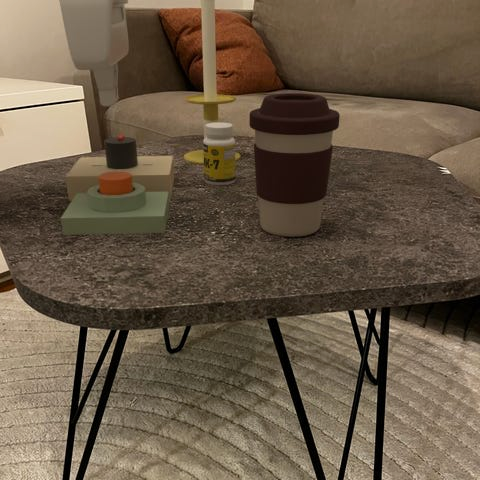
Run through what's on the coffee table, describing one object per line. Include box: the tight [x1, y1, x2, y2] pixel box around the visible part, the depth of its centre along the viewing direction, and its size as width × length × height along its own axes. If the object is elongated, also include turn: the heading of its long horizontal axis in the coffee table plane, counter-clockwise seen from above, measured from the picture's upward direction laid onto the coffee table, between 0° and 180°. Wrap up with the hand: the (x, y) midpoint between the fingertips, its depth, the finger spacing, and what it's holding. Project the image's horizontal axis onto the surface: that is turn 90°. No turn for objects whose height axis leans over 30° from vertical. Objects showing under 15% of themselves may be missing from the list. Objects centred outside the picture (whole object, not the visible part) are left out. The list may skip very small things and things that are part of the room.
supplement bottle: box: [202, 122, 236, 186], centre depth 88 cm, size 5×5×8 cm
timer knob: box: [103, 134, 138, 169], centre depth 84 cm, size 4×4×4 cm
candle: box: [183, 0, 241, 165], centre depth 97 cm, size 10×10×27 cm
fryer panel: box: [65, 155, 175, 202], centre depth 86 cm, size 14×11×4 cm
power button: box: [98, 172, 133, 195], centre depth 72 cm, size 4×4×2 cm
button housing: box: [60, 183, 171, 236], centre depth 73 cm, size 12×10×4 cm
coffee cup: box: [249, 92, 341, 238], centre depth 68 cm, size 10×10×15 cm
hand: (109, 104), depth 70 cm, fingers closed
